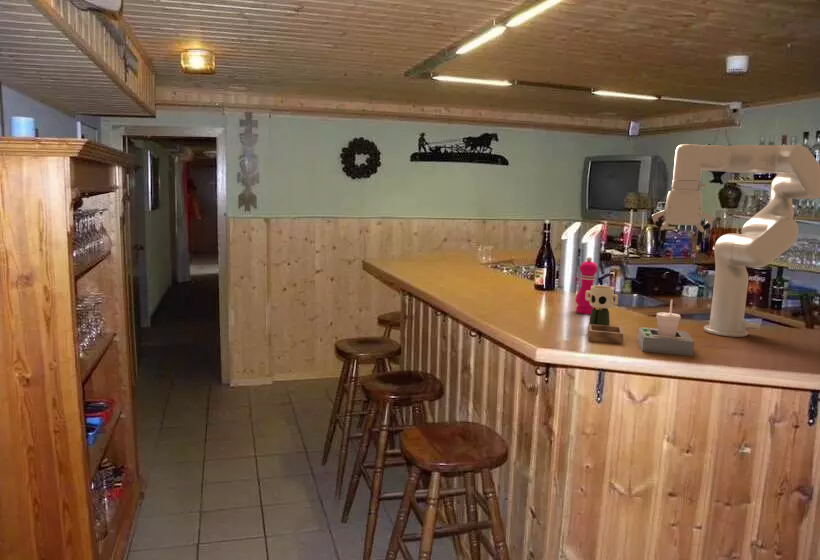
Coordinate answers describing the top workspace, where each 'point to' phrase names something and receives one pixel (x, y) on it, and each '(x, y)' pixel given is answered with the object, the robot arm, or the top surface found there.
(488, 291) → the top surface
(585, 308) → the pepper mill
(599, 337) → the wooden tray
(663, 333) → the smoothie
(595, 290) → the character mug
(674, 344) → the box
